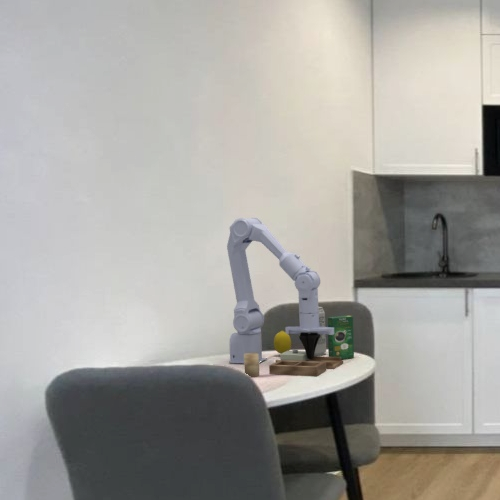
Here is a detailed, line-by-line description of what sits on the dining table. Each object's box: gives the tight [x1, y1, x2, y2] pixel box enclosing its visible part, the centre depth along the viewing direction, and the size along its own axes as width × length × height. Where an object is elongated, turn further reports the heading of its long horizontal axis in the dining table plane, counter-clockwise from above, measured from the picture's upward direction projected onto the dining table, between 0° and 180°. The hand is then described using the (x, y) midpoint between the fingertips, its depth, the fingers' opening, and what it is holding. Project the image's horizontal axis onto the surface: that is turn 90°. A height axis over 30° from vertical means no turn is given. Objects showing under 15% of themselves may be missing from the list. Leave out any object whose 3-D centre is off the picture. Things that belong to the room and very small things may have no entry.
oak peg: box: [243, 353, 260, 378], centre depth 201 cm, size 4×4×6 cm
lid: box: [279, 349, 308, 361], centre depth 215 cm, size 7×7×3 cm
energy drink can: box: [313, 306, 327, 356], centre depth 230 cm, size 6×6×15 cm
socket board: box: [268, 359, 327, 377], centre depth 203 cm, size 14×8×2 cm, turn 66°
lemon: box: [273, 330, 292, 355], centre depth 230 cm, size 6×6×8 cm
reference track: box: [274, 355, 344, 370], centre depth 213 cm, size 18×9×2 cm, turn 66°
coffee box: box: [327, 315, 355, 360], centre depth 220 cm, size 8×3×13 cm, turn 118°
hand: (310, 358), depth 213 cm, fingers closed
